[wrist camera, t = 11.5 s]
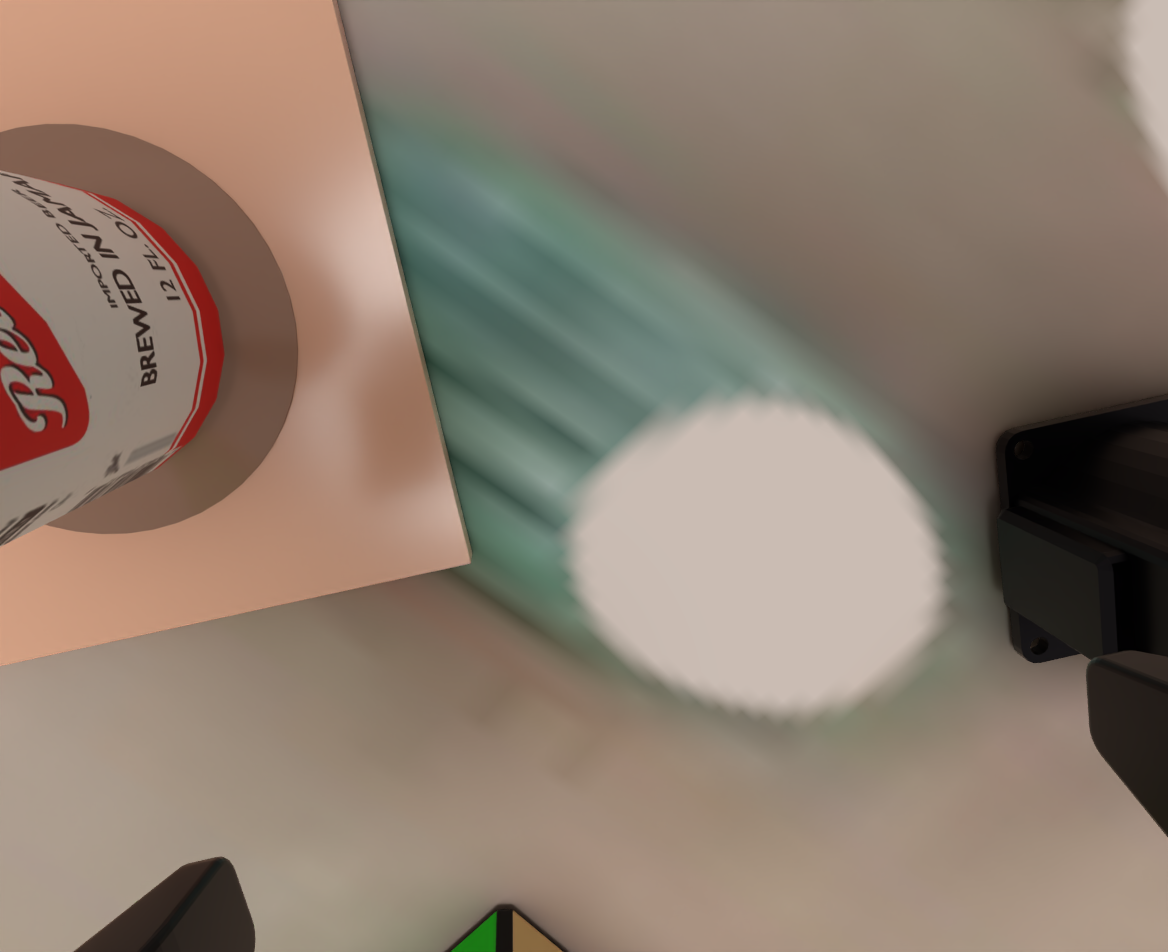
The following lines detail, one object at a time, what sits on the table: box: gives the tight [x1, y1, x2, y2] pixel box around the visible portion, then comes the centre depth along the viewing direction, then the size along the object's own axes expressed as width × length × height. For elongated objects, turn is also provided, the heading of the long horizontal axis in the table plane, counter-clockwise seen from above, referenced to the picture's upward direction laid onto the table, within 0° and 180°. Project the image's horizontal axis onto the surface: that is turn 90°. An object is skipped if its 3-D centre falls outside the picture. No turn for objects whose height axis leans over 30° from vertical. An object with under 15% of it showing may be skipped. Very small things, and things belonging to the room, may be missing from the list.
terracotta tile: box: [0, 0, 472, 666], centre depth 19 cm, size 14×14×1 cm
